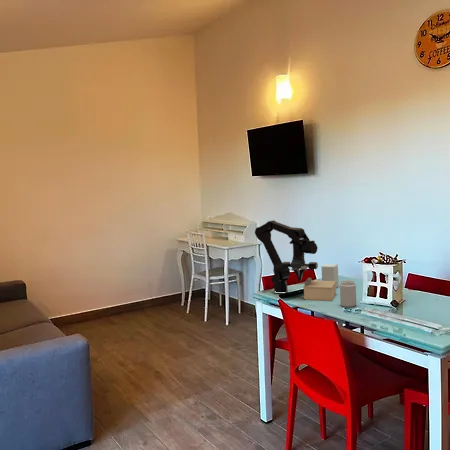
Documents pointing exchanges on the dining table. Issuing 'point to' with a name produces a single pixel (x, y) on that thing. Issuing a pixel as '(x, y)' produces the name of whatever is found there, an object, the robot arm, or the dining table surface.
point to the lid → (319, 284)
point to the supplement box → (330, 273)
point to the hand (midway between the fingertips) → (299, 281)
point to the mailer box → (319, 294)
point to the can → (348, 293)
